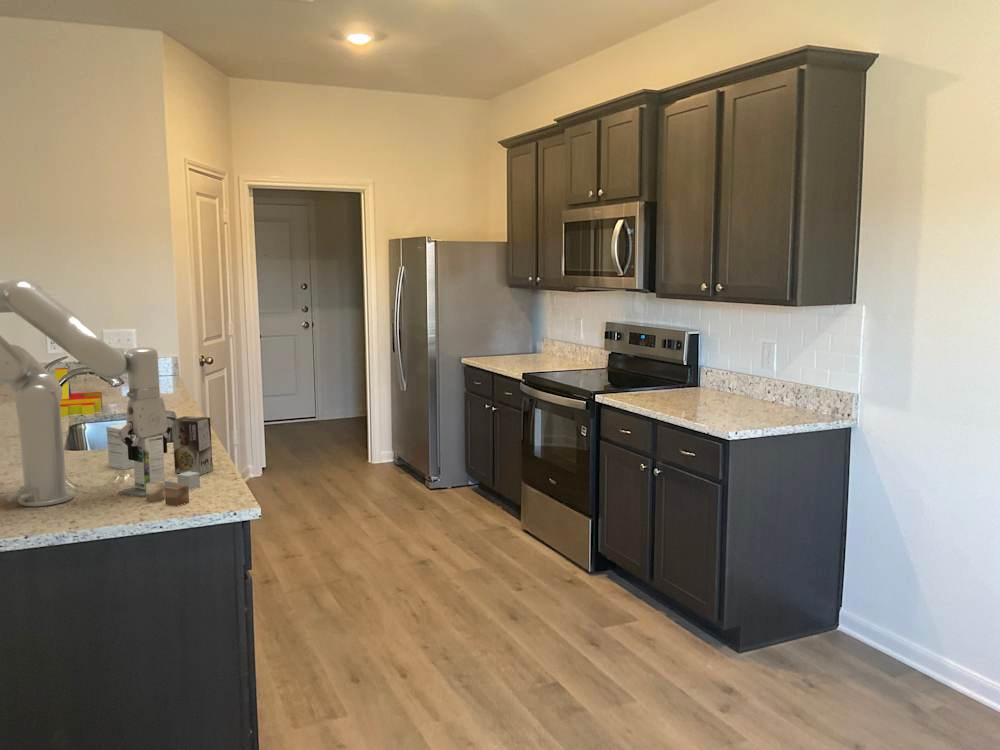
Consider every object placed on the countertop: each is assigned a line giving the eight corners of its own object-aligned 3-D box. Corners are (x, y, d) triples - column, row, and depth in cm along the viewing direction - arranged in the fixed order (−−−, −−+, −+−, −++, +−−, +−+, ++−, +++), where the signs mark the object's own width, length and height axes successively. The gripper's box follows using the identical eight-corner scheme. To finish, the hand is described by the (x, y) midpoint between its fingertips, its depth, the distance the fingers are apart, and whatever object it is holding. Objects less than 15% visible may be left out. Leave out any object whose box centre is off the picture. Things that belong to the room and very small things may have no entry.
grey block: (188, 490, 221) (188, 476, 220) (178, 488, 223) (177, 474, 222) (200, 486, 225) (199, 472, 224) (189, 485, 226) (188, 471, 226)
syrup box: (134, 488, 220) (130, 435, 219) (153, 483, 225) (150, 431, 224) (147, 491, 218) (144, 438, 216) (166, 486, 223) (163, 434, 221)
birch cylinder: (155, 503, 209) (154, 486, 208) (142, 501, 211) (141, 484, 210) (168, 498, 213) (167, 481, 212) (156, 496, 215) (155, 480, 214)
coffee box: (214, 470, 242) (211, 417, 240) (200, 475, 236) (197, 421, 234) (187, 468, 245) (185, 415, 243) (173, 473, 239) (170, 419, 236)
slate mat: (143, 497, 214) (142, 495, 214) (118, 493, 217) (118, 491, 217) (180, 485, 225) (180, 483, 225) (156, 482, 229) (156, 479, 229)
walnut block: (177, 506, 206) (176, 489, 206) (165, 504, 208) (164, 487, 207) (189, 502, 210) (188, 485, 209) (177, 500, 211) (176, 483, 211)
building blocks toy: (48, 419, 323) (45, 374, 320) (53, 409, 345) (49, 367, 343) (101, 416, 331) (98, 371, 328) (102, 406, 353) (99, 364, 351)
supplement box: (130, 462, 252) (127, 422, 251) (145, 465, 249) (142, 424, 247) (108, 467, 246) (105, 426, 244) (123, 470, 242) (120, 428, 241)
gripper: (128, 399, 208) (132, 464, 211) (179, 390, 224) (183, 450, 226) (107, 397, 212) (111, 461, 214) (159, 388, 227) (162, 448, 229)
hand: (148, 456), depth 220 cm, fingers open, 9 cm apart
